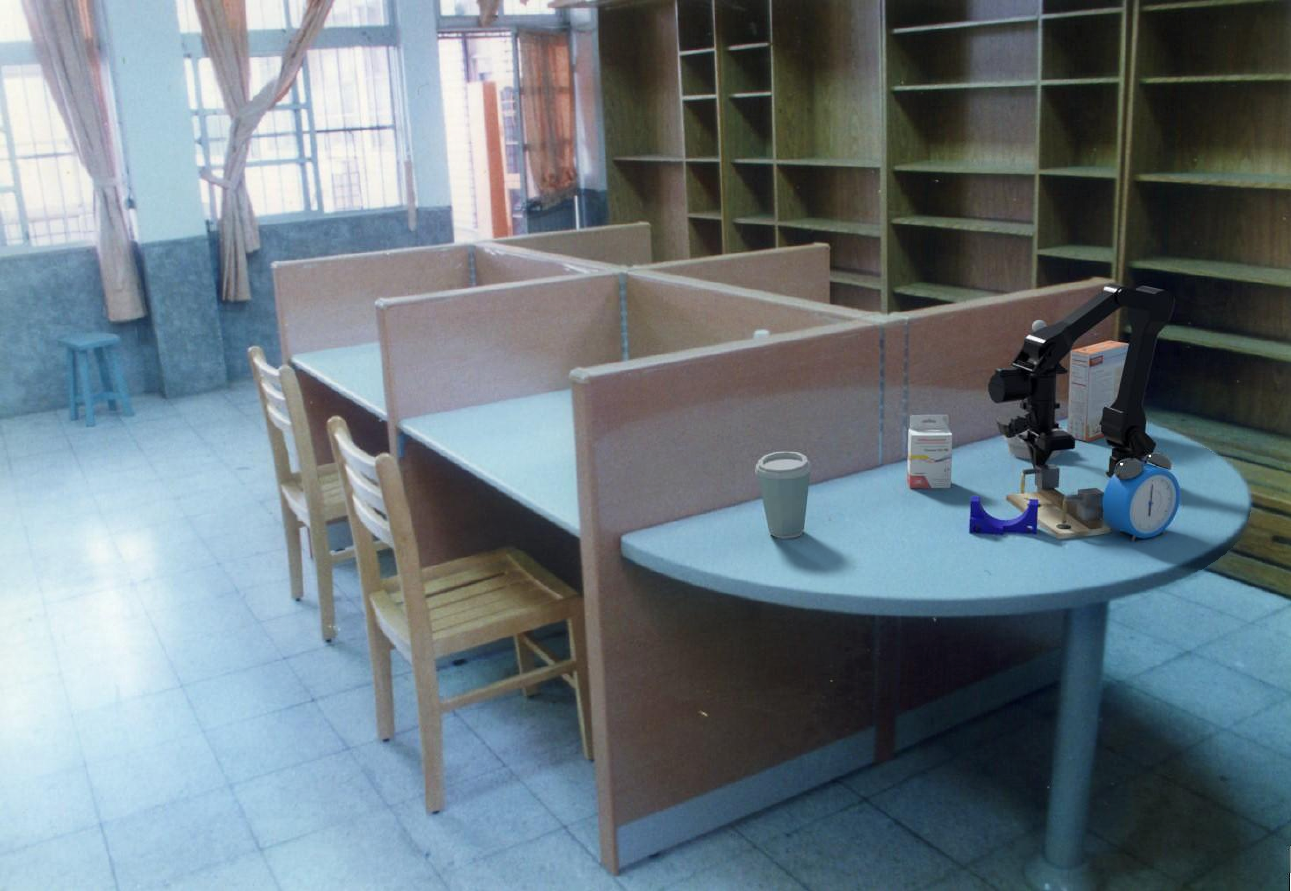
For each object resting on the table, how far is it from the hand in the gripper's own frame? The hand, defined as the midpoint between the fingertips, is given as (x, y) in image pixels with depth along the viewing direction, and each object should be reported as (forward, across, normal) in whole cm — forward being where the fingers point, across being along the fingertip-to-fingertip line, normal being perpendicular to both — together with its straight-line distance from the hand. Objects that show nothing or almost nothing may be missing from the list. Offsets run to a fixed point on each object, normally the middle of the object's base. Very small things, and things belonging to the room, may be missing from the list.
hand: (1037, 471), depth 239 cm
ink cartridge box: (+5, -11, -19) cm, 22 cm away
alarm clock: (+5, +26, +7) cm, 27 cm away
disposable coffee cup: (+5, +8, -54) cm, 55 cm away
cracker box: (+5, -33, +30) cm, 45 cm away
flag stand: (+5, -25, +11) cm, 28 cm away
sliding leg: (+3, +4, -2) cm, 5 cm away
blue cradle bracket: (+5, +18, -15) cm, 24 cm away
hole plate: (+4, +13, -2) cm, 14 cm away
